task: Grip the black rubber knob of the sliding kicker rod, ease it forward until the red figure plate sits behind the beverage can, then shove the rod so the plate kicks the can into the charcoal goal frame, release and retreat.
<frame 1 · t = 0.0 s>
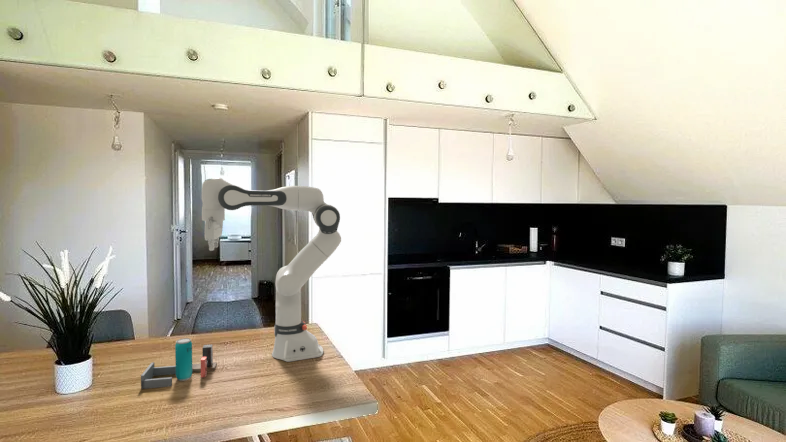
hand: (213, 248, 174), 48 cm above the table, fingers open, 8 cm apart
goal: (161, 380, 156), on the table
kicker: (205, 360, 164), point 5 cm above the table, slide at 0.0 cm
track: (194, 369, 167), on the table
beverage can: (184, 379, 158), on the table
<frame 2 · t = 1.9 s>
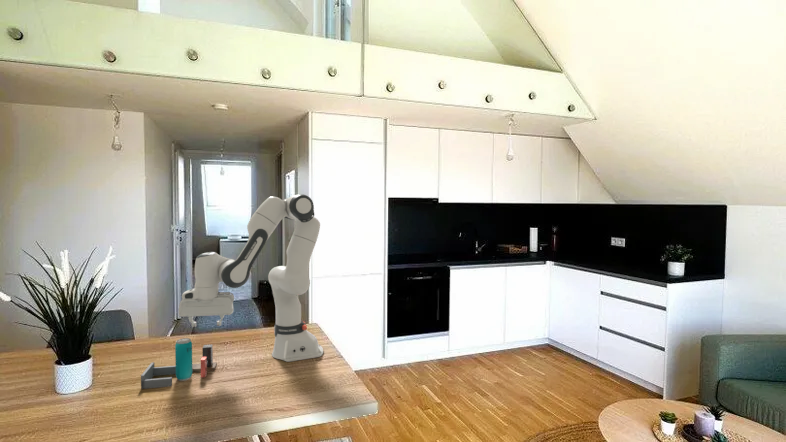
hand: (206, 326, 167), 18 cm above the table, fingers open, 8 cm apart
nothing on the table moved.
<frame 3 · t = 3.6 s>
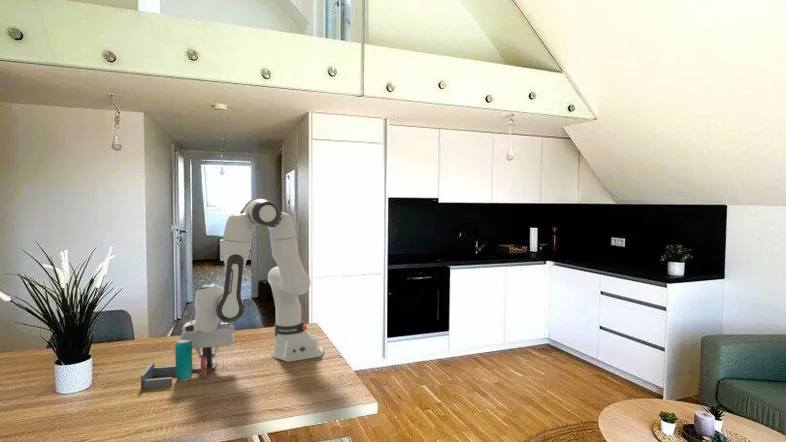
hand: (207, 357, 168), 5 cm above the table, fingers closed on kicker, 3 cm apart
kicker: (205, 360, 164), point 5 cm above the table, slide at 0.0 cm, touching gripper
everything else where it was.
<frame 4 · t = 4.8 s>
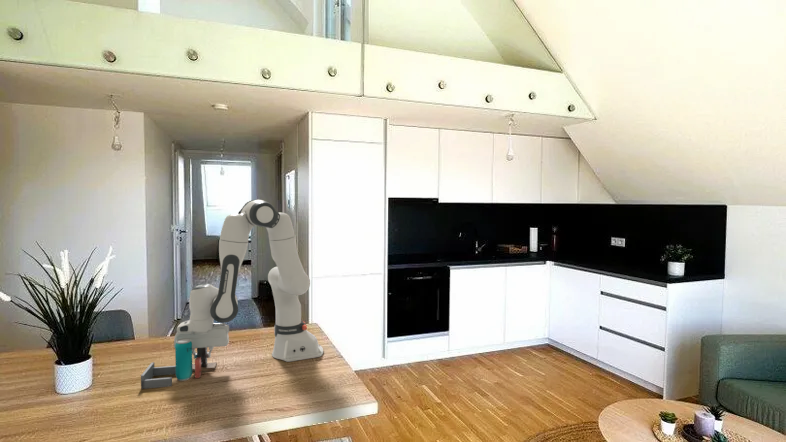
hand: (202, 357, 167), 5 cm above the table, fingers closed on kicker, 3 cm apart
kicker: (200, 360, 163), point 5 cm above the table, slide at 2.0 cm, touching gripper
everything else where it was.
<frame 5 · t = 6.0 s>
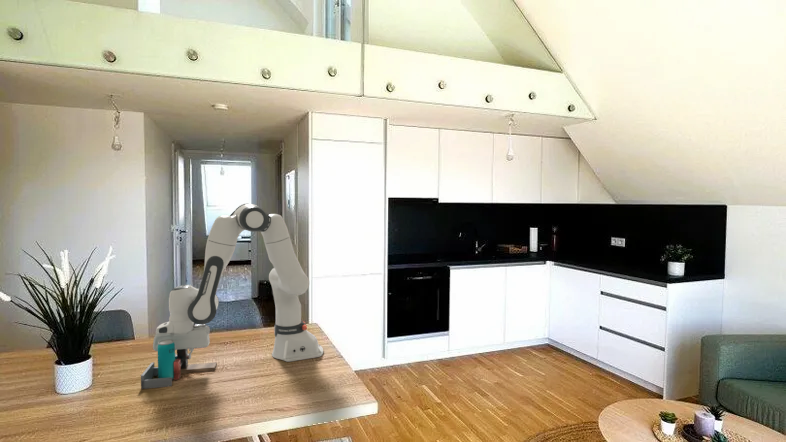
hand: (182, 359, 165), 5 cm above the table, fingers closed on kicker, 3 cm apart
kicker: (179, 362, 161), point 5 cm above the table, slide at 9.4 cm, touching beverage can, gripper
beverage can: (166, 380, 157), on the table, touching kicker
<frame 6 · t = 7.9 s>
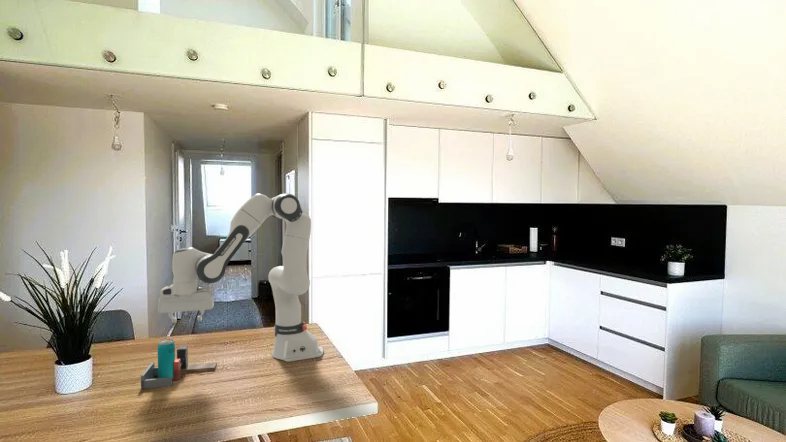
hand: (187, 321, 166), 20 cm above the table, fingers open, 8 cm apart
kicker: (179, 362, 161), point 5 cm above the table, slide at 9.4 cm
beverage can: (166, 380, 157), on the table
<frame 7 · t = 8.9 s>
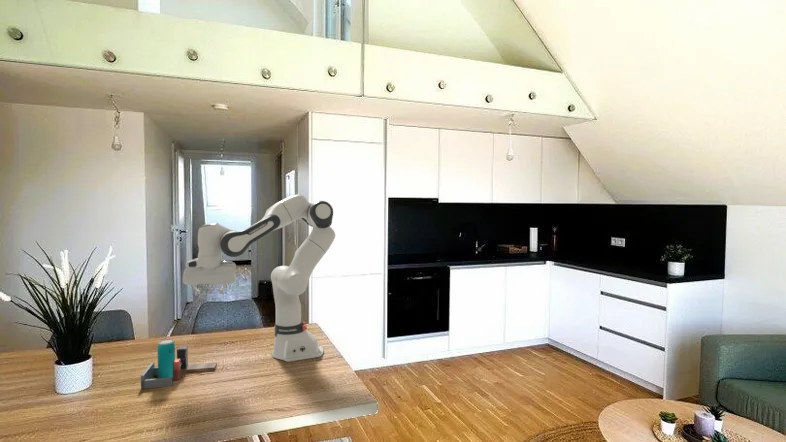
hand: (210, 294, 173), 29 cm above the table, fingers open, 8 cm apart
nothing on the table moved.
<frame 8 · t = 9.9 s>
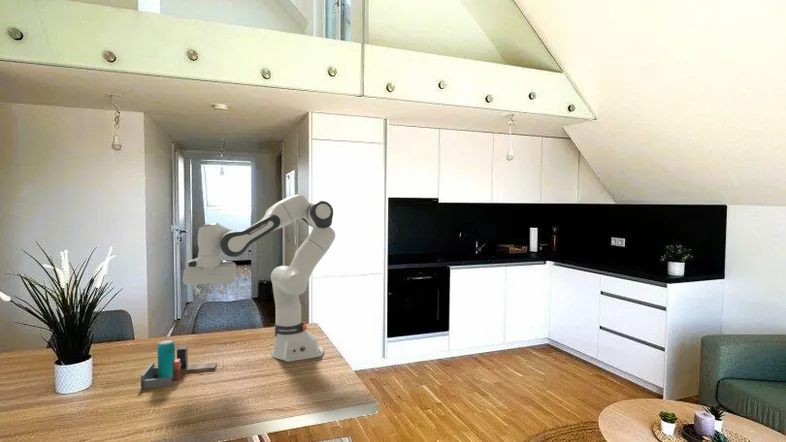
hand: (210, 294, 173), 29 cm above the table, fingers open, 8 cm apart
nothing on the table moved.
at the end: beverage can inside the target area (2.4 cm from its centre), on the table; kicker slide at 9.4 cm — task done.
